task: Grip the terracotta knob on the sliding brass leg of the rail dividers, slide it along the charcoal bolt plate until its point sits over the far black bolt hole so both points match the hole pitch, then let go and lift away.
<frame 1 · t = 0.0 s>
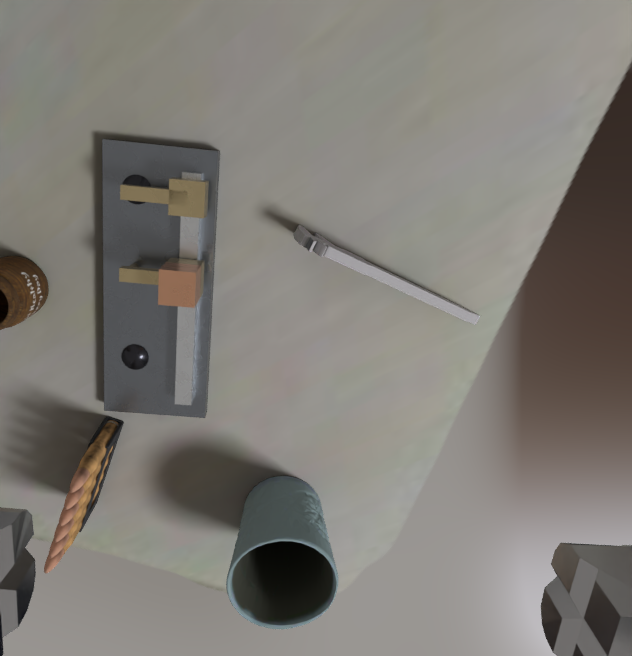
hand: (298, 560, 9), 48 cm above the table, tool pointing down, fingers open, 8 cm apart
utensil holder: (20, 283, 56), on the table
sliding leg: (160, 278, 51), point 5 cm above the table, slide at 0.0 cm
bolt plate: (160, 285, 56), on the table
caliper: (388, 274, 58), on the table
grey-teal cup: (284, 506, 65), on the table
ammunition clip: (101, 460, 62), on the table
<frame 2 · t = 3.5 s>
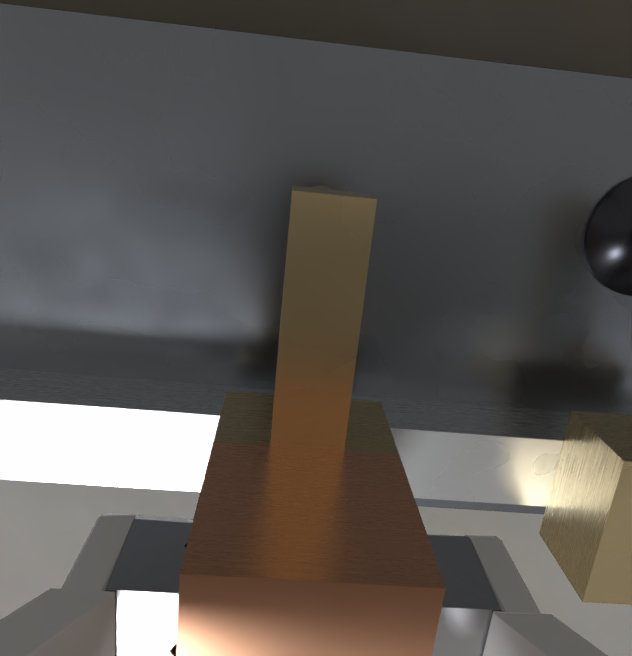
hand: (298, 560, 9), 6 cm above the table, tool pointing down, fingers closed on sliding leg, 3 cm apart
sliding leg: (310, 415, 9), point 5 cm above the table, slide at 0.0 cm, touching gripper
bolt plate: (223, 274, 14), on the table
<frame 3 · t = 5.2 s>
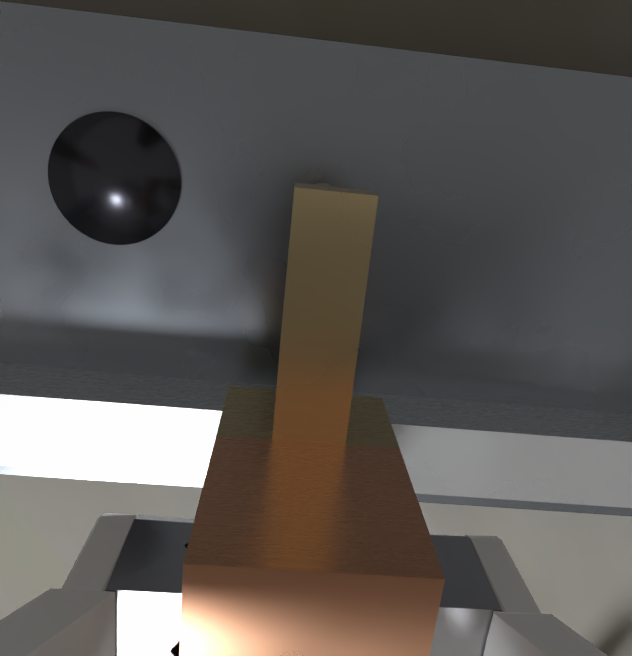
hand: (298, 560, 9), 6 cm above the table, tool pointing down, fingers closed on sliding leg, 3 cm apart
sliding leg: (311, 410, 9), point 5 cm above the table, slide at 4.8 cm, touching gripper
bolt plate: (424, 289, 14), on the table
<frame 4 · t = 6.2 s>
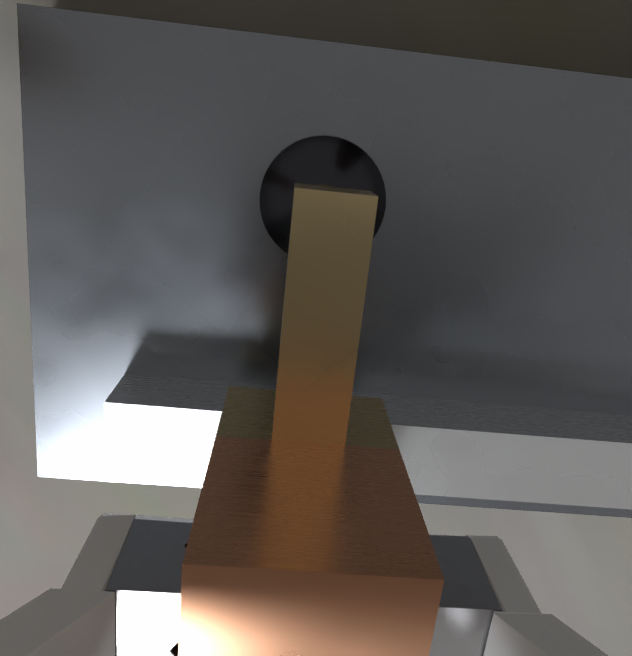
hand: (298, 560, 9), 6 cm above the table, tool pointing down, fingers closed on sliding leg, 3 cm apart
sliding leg: (311, 410, 9), point 5 cm above the table, slide at 9.0 cm, touching gripper
bolt plate: (590, 305, 15), on the table
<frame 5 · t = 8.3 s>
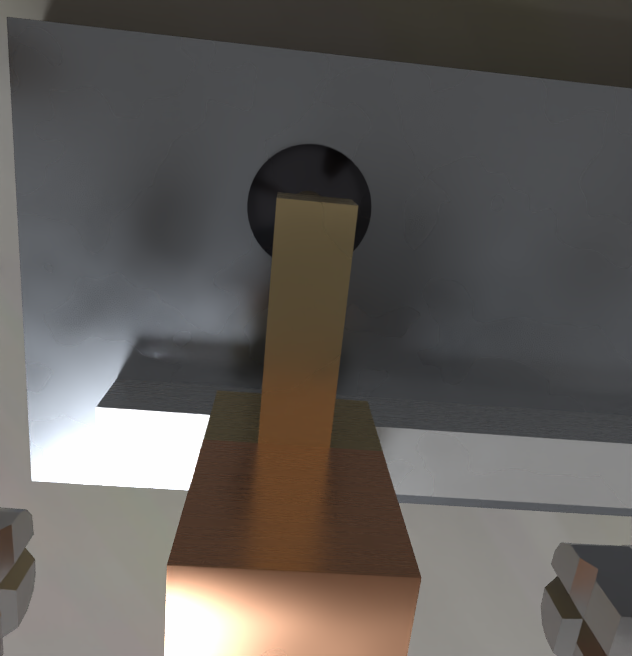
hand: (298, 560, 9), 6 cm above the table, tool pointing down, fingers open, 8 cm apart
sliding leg: (296, 414, 10), point 5 cm above the table, slide at 9.1 cm
bolt plate: (574, 307, 15), on the table
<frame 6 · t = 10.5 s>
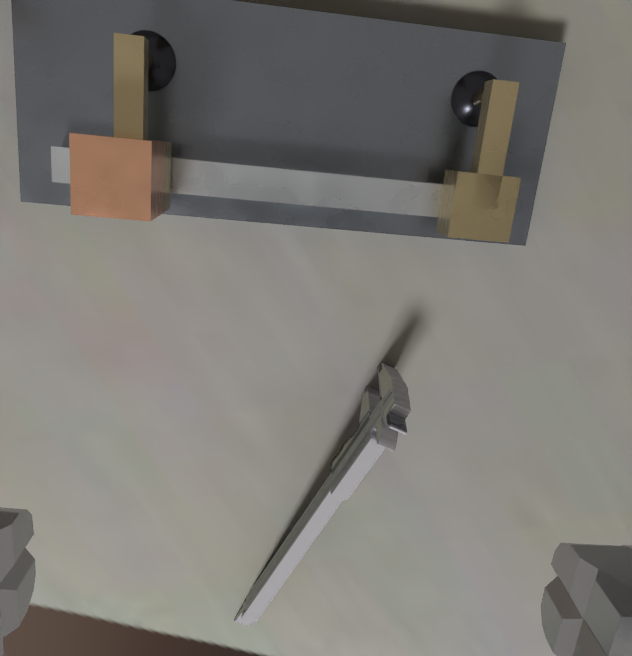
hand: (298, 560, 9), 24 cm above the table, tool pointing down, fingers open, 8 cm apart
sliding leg: (129, 125, 25), point 5 cm above the table, slide at 9.1 cm
bolt plate: (291, 123, 30), on the table
caliper: (309, 496, 37), on the table
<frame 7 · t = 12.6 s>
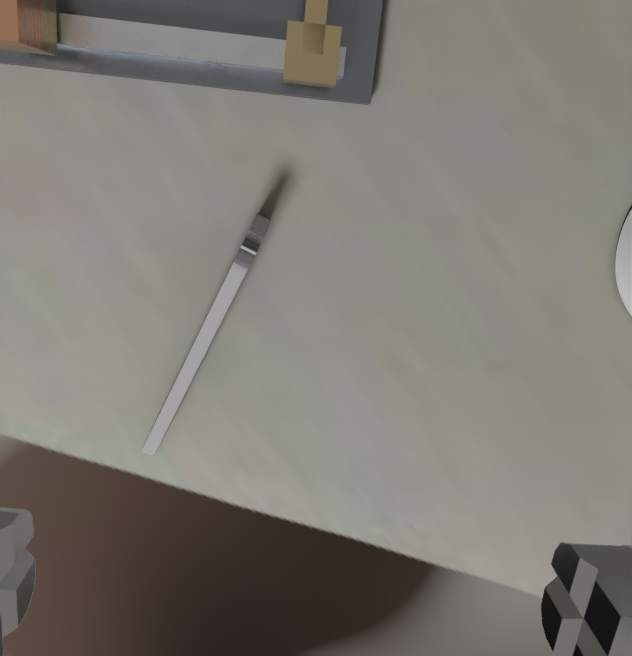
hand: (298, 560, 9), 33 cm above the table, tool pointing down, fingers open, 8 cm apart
caliper: (203, 339, 43), on the table
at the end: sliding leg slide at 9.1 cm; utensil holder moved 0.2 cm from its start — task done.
